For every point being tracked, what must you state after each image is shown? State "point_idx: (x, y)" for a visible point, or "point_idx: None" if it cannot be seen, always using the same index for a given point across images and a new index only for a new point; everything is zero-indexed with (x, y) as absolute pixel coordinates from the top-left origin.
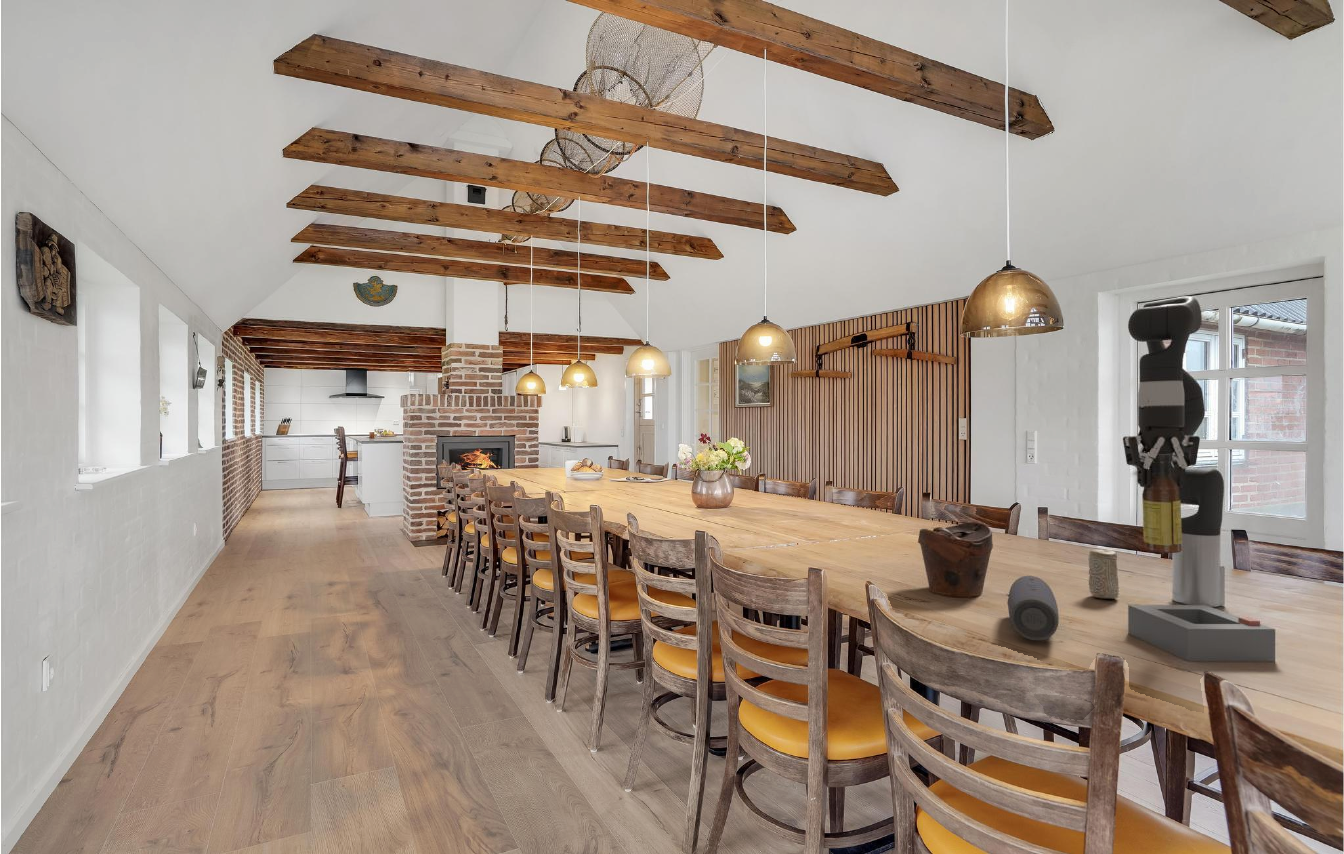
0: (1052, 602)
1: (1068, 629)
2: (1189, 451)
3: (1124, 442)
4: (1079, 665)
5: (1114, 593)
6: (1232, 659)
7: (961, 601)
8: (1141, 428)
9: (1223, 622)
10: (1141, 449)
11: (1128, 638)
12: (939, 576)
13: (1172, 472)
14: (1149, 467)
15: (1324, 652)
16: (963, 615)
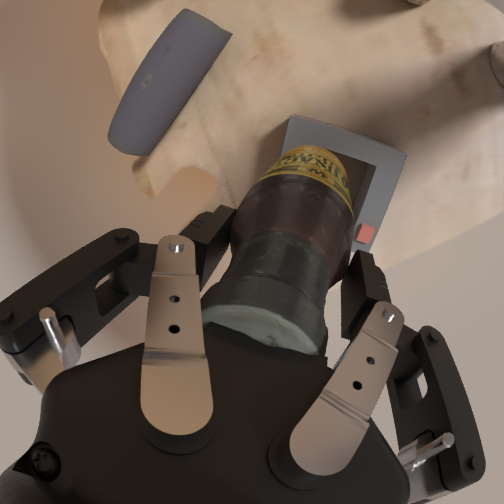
0: (145, 135)
1: (227, 84)
2: (404, 418)
3: (15, 303)
4: (155, 192)
5: (415, 2)
6: None
7: None
8: (37, 456)
9: (362, 202)
10: (148, 310)
11: (275, 130)
12: None
13: (361, 286)
14: (226, 270)
15: (440, 237)
16: (141, 27)
